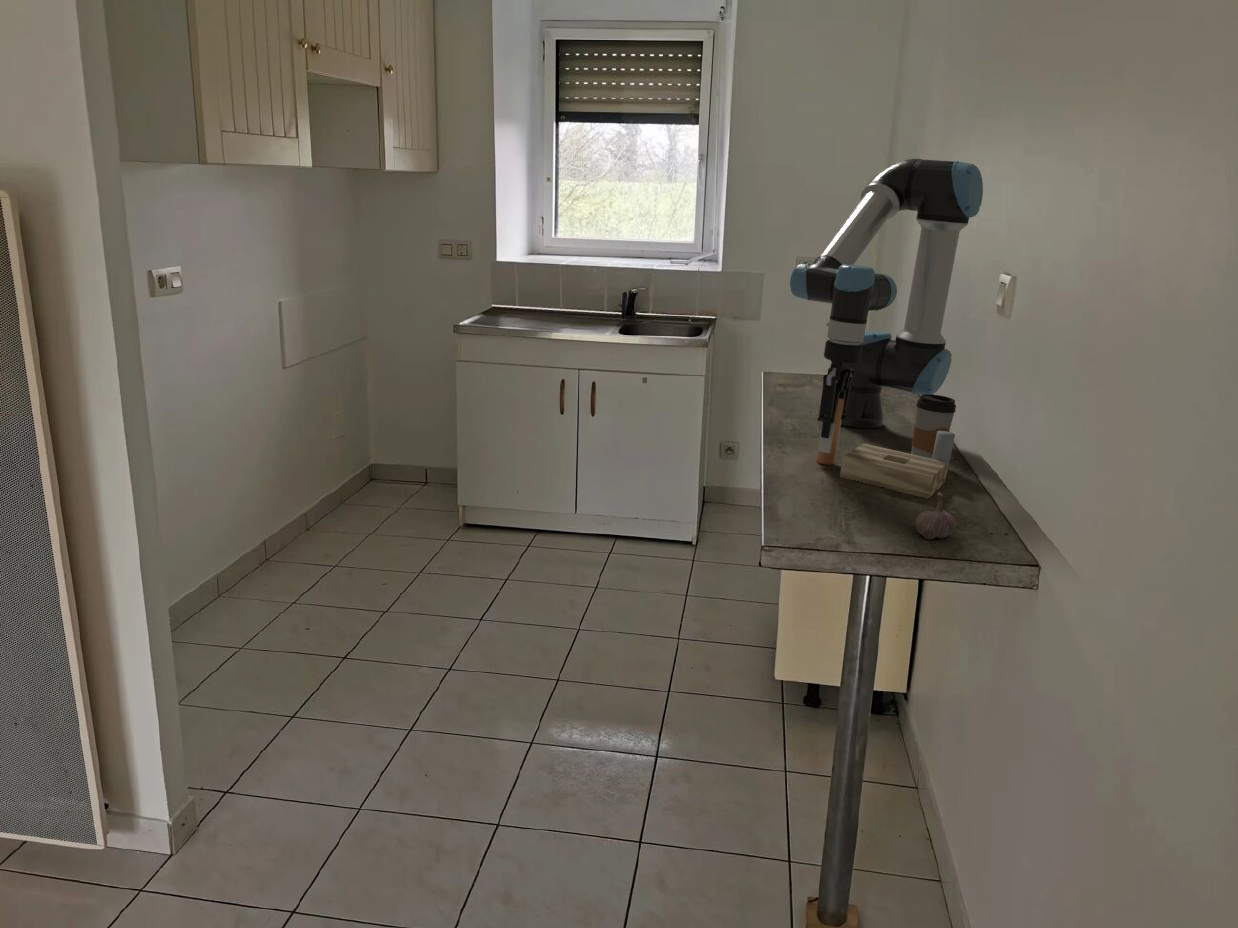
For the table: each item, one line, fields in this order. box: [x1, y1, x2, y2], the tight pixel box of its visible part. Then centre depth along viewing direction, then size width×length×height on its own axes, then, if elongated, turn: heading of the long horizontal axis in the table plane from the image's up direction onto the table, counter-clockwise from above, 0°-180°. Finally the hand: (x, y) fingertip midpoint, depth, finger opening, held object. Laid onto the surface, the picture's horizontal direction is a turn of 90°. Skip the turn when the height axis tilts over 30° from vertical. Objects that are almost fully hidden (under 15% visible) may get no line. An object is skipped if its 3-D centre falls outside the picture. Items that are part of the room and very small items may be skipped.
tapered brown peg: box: [816, 398, 844, 466], centre depth 204 cm, size 4×4×14 cm
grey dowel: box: [932, 431, 956, 482], centre depth 201 cm, size 4×4×10 cm
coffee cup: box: [910, 394, 957, 459], centre depth 211 cm, size 8×8×15 cm
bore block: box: [839, 443, 950, 500], centre depth 197 cm, size 14×18×4 cm
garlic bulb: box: [914, 492, 958, 540], centre depth 166 cm, size 8×7×8 cm
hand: (827, 449), depth 205 cm, fingers closed on tapered brown peg, 3 cm apart
